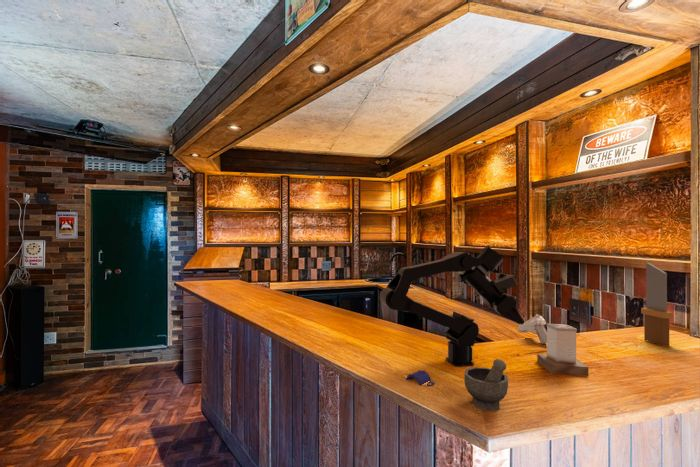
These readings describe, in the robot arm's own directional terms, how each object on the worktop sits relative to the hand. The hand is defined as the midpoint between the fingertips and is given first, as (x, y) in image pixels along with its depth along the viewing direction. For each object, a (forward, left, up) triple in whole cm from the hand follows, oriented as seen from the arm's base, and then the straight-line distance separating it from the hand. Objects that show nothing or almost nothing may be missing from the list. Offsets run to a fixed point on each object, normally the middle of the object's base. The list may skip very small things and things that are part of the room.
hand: (518, 319), depth 108 cm
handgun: (+25, +23, -14) cm, 37 cm away
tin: (+11, -5, -11) cm, 16 cm away
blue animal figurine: (-35, -6, -14) cm, 39 cm away
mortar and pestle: (-25, -23, -14) cm, 37 cm away
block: (+11, -6, -14) cm, 19 cm away
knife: (+67, +9, -14) cm, 69 cm away
